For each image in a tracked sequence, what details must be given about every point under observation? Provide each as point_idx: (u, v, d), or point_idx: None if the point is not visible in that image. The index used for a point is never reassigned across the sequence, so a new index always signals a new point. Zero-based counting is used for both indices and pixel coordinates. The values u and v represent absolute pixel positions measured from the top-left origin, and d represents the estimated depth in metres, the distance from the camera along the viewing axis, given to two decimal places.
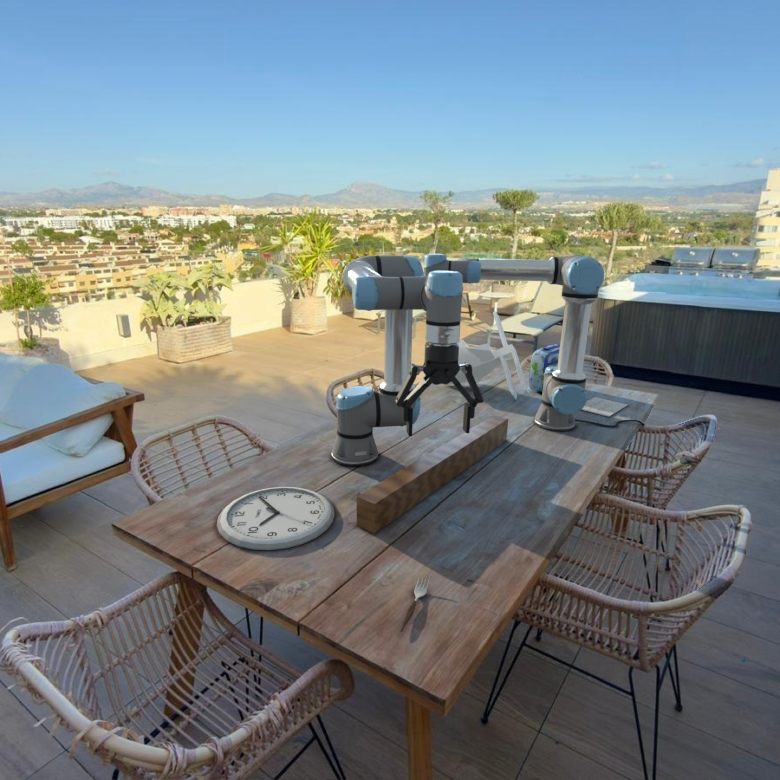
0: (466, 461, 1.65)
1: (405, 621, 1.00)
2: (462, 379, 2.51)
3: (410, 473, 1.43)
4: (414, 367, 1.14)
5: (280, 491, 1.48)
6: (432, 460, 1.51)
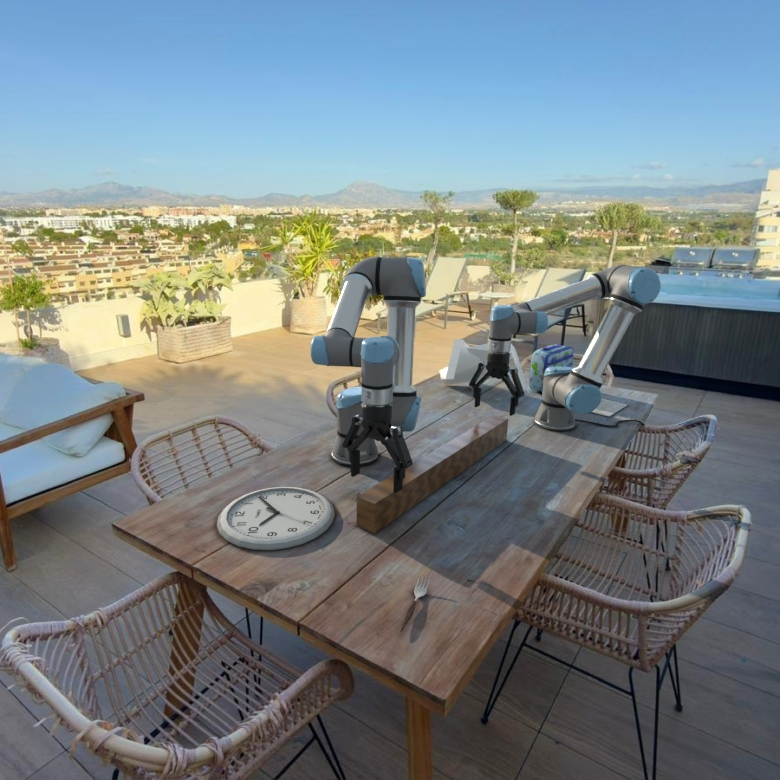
0: (466, 461, 1.65)
1: (405, 621, 1.00)
2: (462, 379, 2.51)
3: (410, 473, 1.43)
4: (353, 418, 1.29)
5: (280, 491, 1.48)
6: (432, 460, 1.51)
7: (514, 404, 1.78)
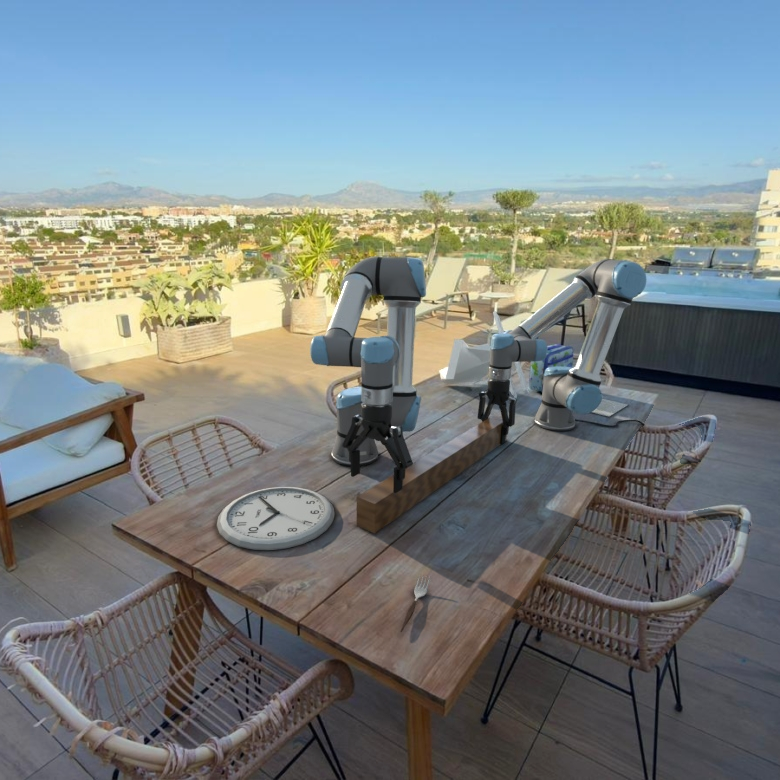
0: (466, 461, 1.65)
1: (405, 621, 1.00)
2: (462, 379, 2.51)
3: (410, 473, 1.43)
4: (353, 418, 1.29)
5: (280, 491, 1.48)
6: (432, 460, 1.51)
7: (504, 433, 1.83)
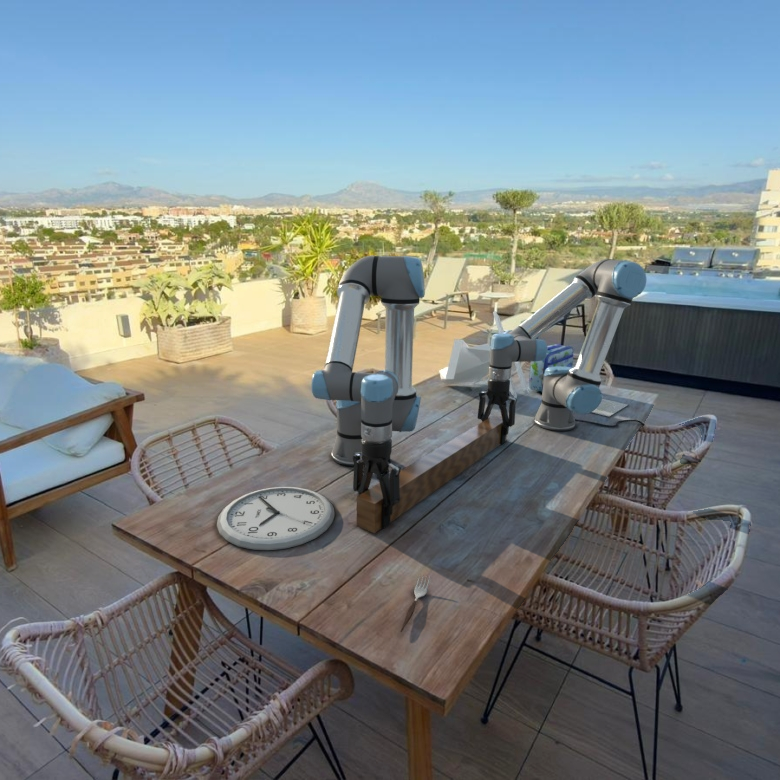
0: (466, 461, 1.65)
1: (405, 621, 1.00)
2: (462, 379, 2.51)
3: (410, 473, 1.43)
4: (353, 457, 1.32)
5: (280, 491, 1.48)
6: (432, 460, 1.51)
7: (504, 433, 1.83)
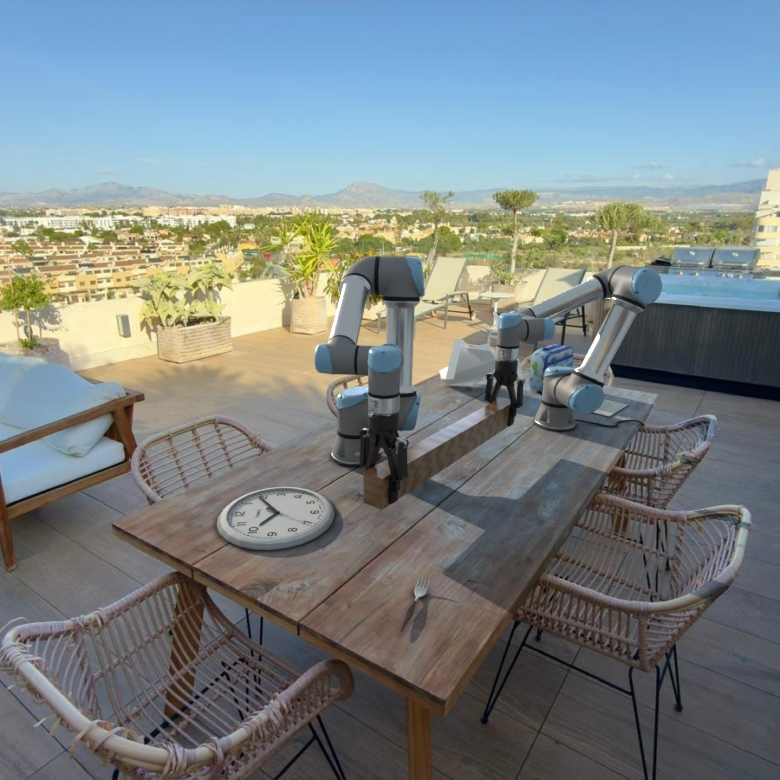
0: (474, 441, 1.62)
1: (405, 621, 1.00)
2: (462, 379, 2.51)
3: (418, 451, 1.40)
4: (360, 431, 1.29)
5: (280, 491, 1.48)
6: (440, 439, 1.48)
7: (512, 415, 1.80)
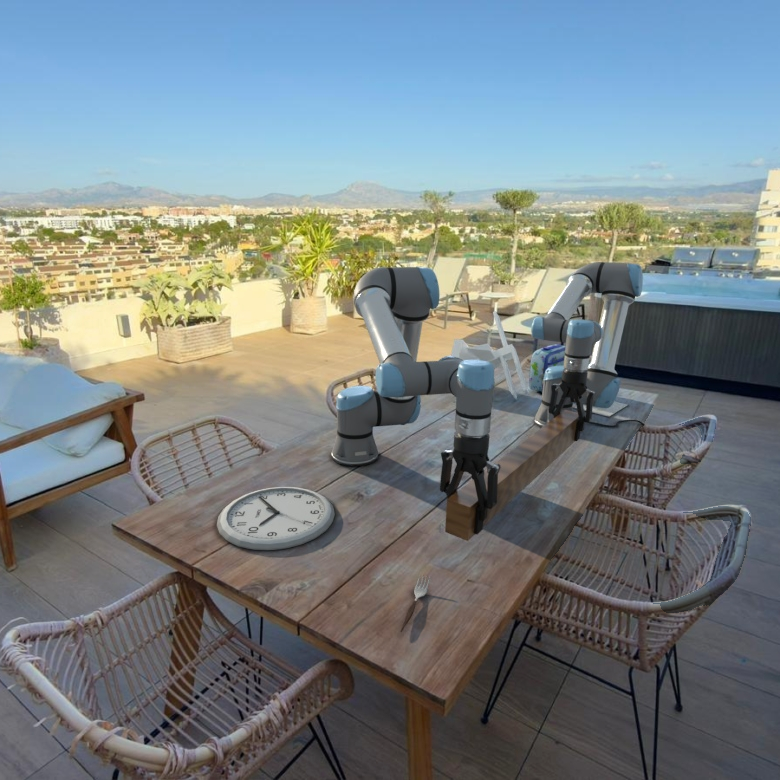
0: (547, 460, 1.50)
1: (405, 621, 1.00)
2: None
3: (498, 473, 1.28)
4: (442, 453, 1.17)
5: (280, 491, 1.48)
6: (517, 459, 1.36)
7: (580, 429, 1.68)
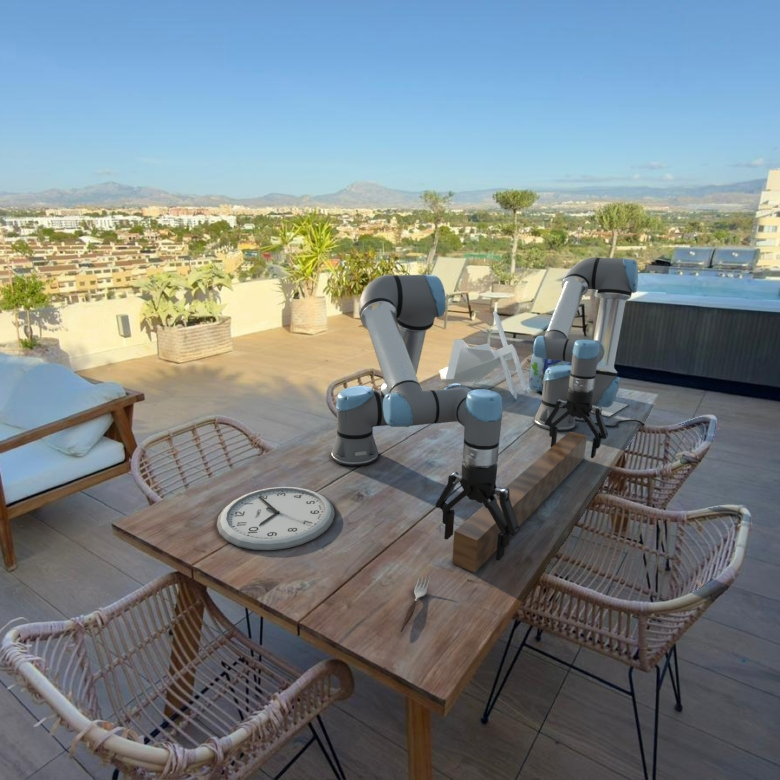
0: (552, 485, 1.51)
1: (405, 621, 1.00)
2: (462, 379, 2.51)
3: None
4: (450, 476, 1.17)
5: (280, 491, 1.48)
6: (523, 486, 1.37)
7: (596, 446, 1.66)
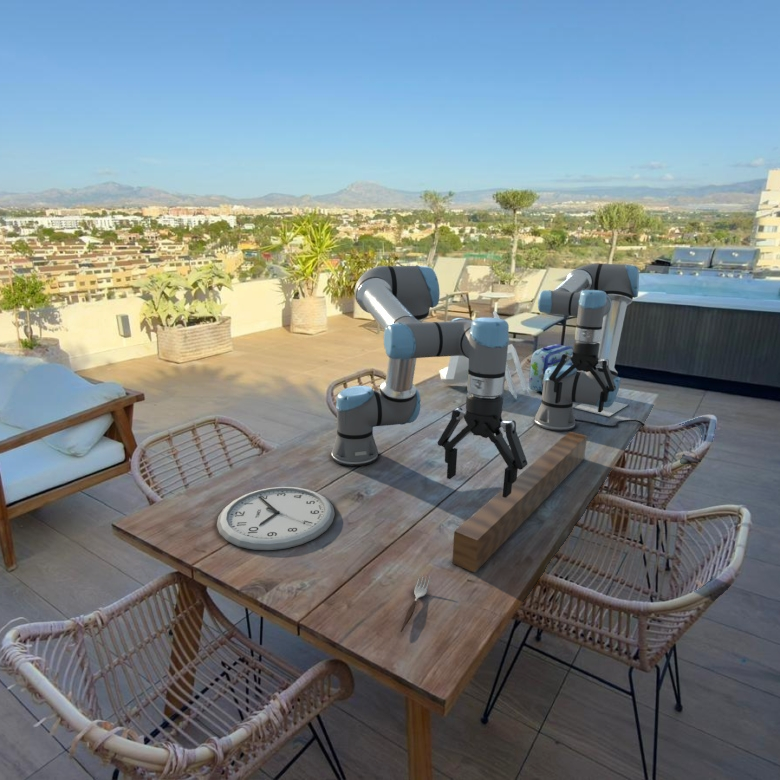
0: (552, 485, 1.51)
1: (405, 621, 1.00)
2: (462, 379, 2.51)
3: (504, 502, 1.29)
4: (454, 411, 1.13)
5: (280, 491, 1.48)
6: (523, 486, 1.37)
7: (604, 399, 1.61)
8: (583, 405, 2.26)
